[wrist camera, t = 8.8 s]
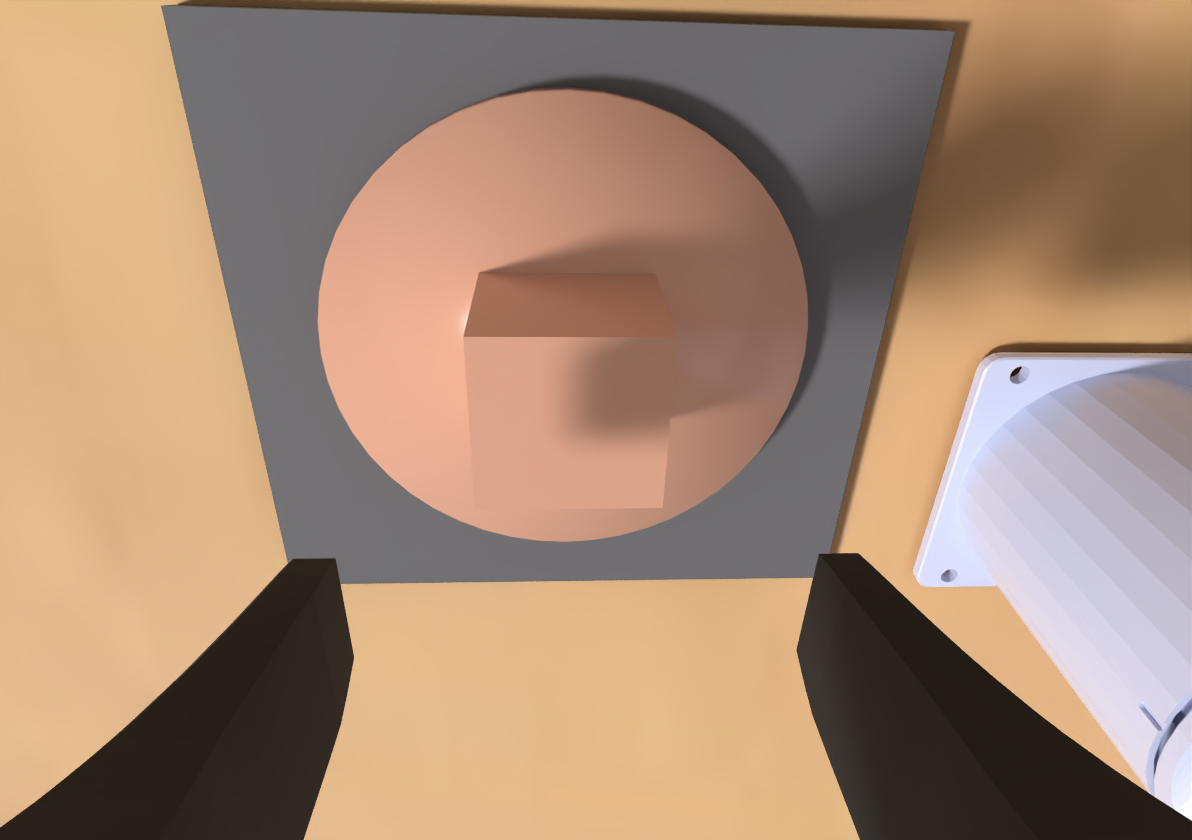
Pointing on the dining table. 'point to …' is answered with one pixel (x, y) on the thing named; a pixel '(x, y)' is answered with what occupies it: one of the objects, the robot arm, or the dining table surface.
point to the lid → (562, 314)
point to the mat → (512, 63)
